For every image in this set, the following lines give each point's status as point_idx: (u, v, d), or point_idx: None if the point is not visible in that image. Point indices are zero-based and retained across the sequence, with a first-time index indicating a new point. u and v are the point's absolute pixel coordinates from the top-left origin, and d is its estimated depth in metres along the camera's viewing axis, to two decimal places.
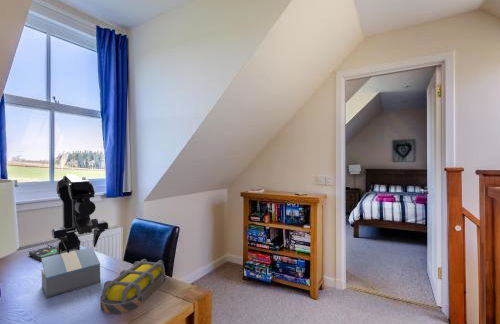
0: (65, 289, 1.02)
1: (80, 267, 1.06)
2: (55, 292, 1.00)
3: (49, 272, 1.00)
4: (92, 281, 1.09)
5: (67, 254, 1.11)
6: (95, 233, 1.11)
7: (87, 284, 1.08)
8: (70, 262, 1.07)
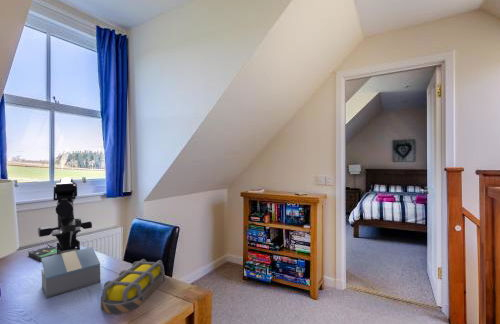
0: (65, 289, 1.02)
1: (80, 267, 1.06)
2: (55, 292, 1.00)
3: (49, 272, 1.00)
4: (92, 281, 1.09)
5: (67, 254, 1.11)
6: (71, 233, 1.16)
7: (87, 284, 1.08)
8: (70, 262, 1.07)
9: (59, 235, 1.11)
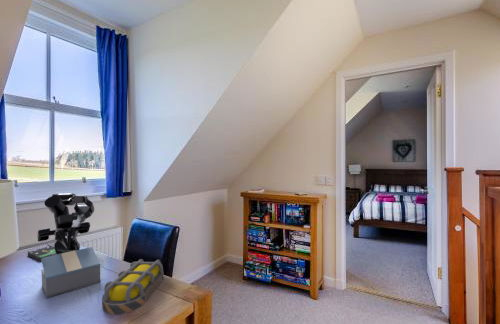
0: (65, 289, 1.02)
1: (80, 267, 1.06)
2: (55, 292, 1.00)
3: (49, 272, 1.00)
4: (92, 281, 1.09)
5: (67, 254, 1.11)
6: (67, 235, 1.16)
7: (87, 284, 1.08)
8: (70, 262, 1.07)
9: (62, 232, 1.14)
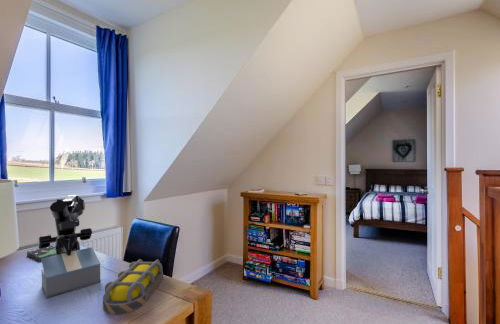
0: (65, 289, 1.02)
1: (80, 267, 1.06)
2: (55, 292, 1.00)
3: (49, 272, 1.00)
4: (92, 281, 1.09)
5: None
6: (68, 242, 1.14)
7: (87, 284, 1.08)
8: (70, 262, 1.07)
9: (63, 239, 1.11)
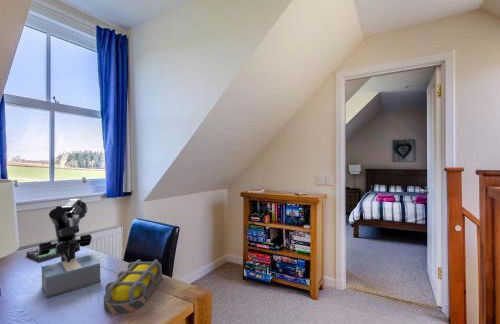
0: (65, 289, 1.02)
1: (80, 267, 1.06)
2: (55, 292, 1.00)
3: (49, 273, 1.01)
4: (92, 281, 1.09)
5: None
6: (68, 248, 1.14)
7: (87, 284, 1.08)
8: (70, 265, 1.08)
9: (63, 245, 1.12)
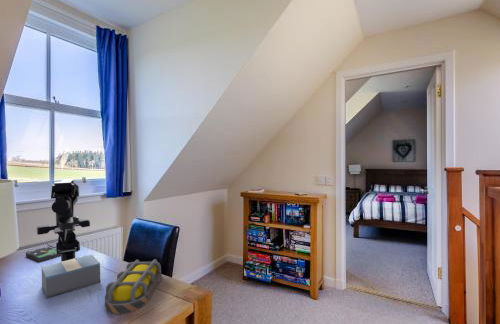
0: (65, 289, 1.02)
1: (80, 267, 1.06)
2: (55, 292, 1.00)
3: (49, 273, 1.01)
4: (92, 281, 1.09)
5: (67, 261, 1.12)
6: (66, 232, 1.17)
7: (87, 284, 1.08)
8: (70, 265, 1.08)
9: (61, 232, 1.14)
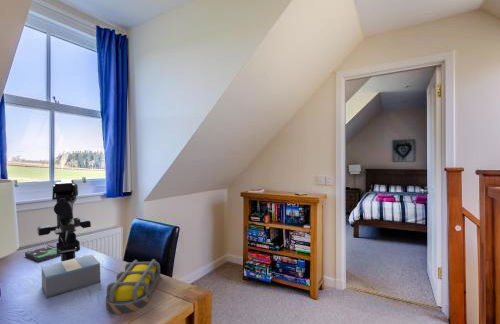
0: (65, 289, 1.02)
1: (80, 267, 1.06)
2: (55, 292, 1.00)
3: (49, 273, 1.01)
4: (92, 281, 1.09)
5: (67, 261, 1.12)
6: (67, 233, 1.17)
7: (87, 284, 1.08)
8: (70, 265, 1.08)
9: (62, 233, 1.14)
